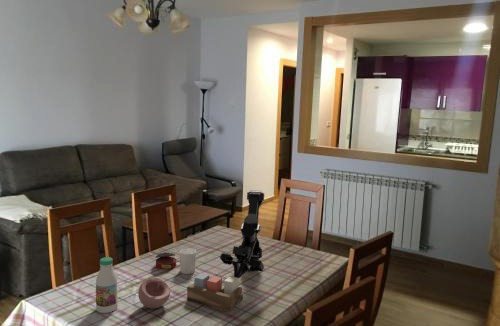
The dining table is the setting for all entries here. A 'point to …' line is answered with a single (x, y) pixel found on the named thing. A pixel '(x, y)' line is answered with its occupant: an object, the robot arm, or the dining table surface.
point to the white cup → (187, 260)
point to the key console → (214, 297)
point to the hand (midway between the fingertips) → (235, 280)
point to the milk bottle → (106, 287)
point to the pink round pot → (153, 293)
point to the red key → (214, 284)
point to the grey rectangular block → (201, 280)
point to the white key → (230, 285)
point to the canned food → (165, 261)
